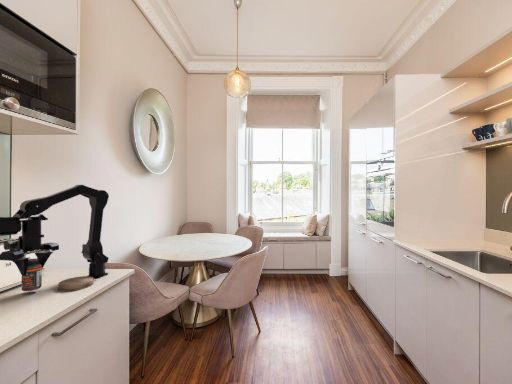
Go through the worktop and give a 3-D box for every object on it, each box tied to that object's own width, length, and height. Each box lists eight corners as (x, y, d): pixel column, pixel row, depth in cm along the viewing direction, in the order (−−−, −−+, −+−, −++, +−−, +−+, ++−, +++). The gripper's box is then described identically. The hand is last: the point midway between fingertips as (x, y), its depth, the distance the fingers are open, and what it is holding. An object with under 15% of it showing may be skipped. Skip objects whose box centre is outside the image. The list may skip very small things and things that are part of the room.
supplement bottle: (17, 292, 98) (17, 262, 98) (26, 287, 104) (26, 258, 104) (36, 290, 100) (36, 260, 100) (44, 285, 105) (44, 257, 105)
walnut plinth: (75, 280, 116) (75, 275, 116) (100, 281, 114) (100, 276, 114) (50, 290, 104) (50, 285, 104) (77, 291, 102) (77, 286, 102)
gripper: (36, 229, 112) (37, 265, 112) (-14, 236, 94) (-14, 280, 94) (60, 229, 111) (60, 266, 110) (13, 236, 92) (13, 281, 92)
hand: (31, 273), depth 102 cm, fingers closed on supplement bottle, 6 cm apart
